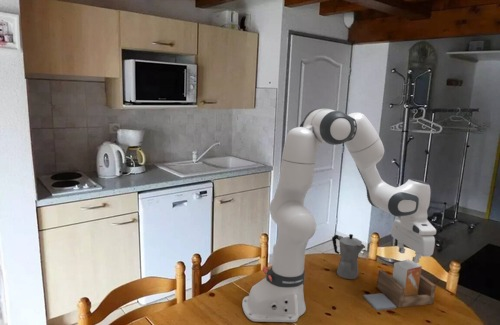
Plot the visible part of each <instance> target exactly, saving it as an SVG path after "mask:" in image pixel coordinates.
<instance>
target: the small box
mask: <svg viewBox="0 0 500 325" xmlns="http://www.w3.org/2000/svg"><path fill="white" fill-rule="evenodd" d="M422 268H423V266H422V265H421V264H419V263H415V262H413V261H412V260H410V259H404V260H400V261H396V262H394V263H393V269H392V276H391V277H392V278H393V279H394V280H396V281H397V282H398V283H399V284H400V285H402V286H403V287H404V288H405V290H404V297H407V296H418V289H419V282H420V275H422V274H421V273H422Z"/></svg>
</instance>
